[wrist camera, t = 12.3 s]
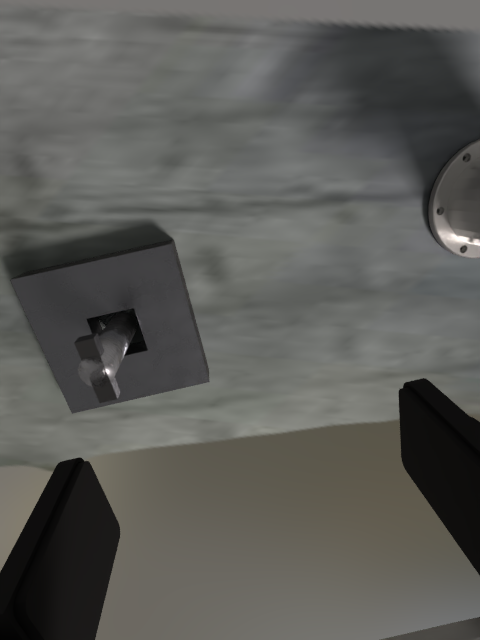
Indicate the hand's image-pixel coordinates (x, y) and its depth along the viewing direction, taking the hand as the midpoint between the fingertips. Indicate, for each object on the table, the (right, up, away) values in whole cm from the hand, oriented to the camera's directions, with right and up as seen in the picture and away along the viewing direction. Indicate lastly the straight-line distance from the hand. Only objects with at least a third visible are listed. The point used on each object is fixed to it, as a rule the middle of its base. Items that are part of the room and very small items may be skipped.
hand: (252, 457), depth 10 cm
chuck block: (-14, +4, +30) cm, 33 cm away
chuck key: (-14, +4, +30) cm, 33 cm away
